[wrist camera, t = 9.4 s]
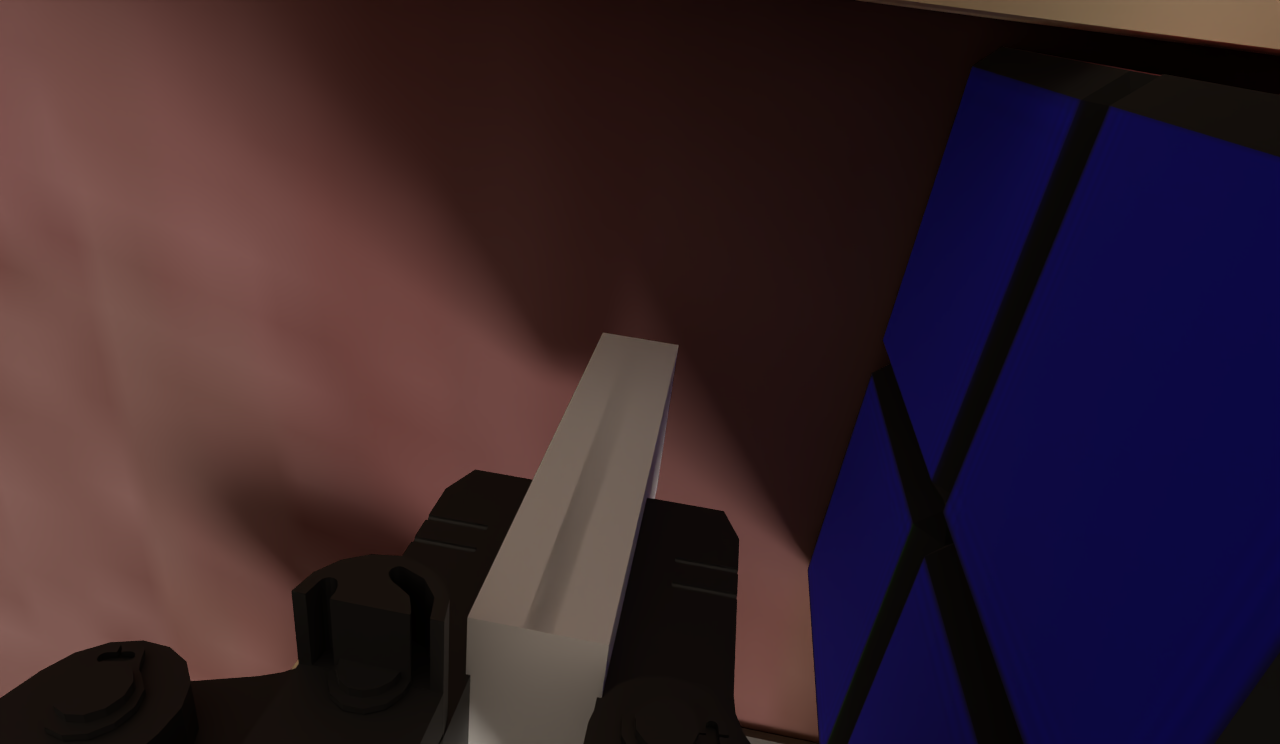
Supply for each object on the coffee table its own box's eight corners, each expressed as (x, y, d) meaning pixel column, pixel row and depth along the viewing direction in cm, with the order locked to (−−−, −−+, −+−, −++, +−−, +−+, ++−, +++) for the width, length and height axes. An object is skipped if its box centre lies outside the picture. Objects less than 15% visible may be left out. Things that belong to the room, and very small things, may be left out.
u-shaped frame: (364, 838, 22) (284, 1003, 18) (307, -190, 11) (95, -278, 8) (953, 971, 20) (993, 1177, 17) (1488, -49, 10) (1883, -77, 7)
